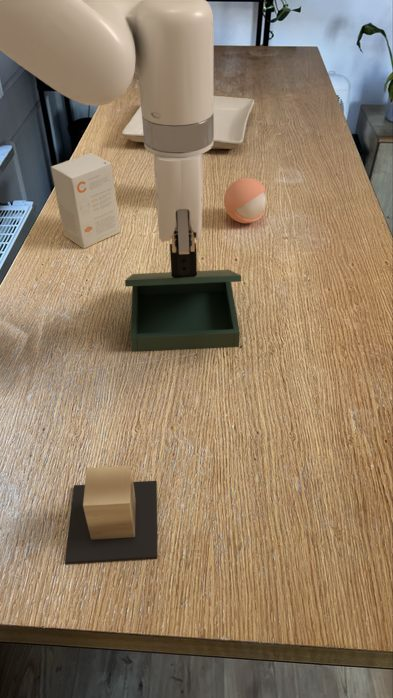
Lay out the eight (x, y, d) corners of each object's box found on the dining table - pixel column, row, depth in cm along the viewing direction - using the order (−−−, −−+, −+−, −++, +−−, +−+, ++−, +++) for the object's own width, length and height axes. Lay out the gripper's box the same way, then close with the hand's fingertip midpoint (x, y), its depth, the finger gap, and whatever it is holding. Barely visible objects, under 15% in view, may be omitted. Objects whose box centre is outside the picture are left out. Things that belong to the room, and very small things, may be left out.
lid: (241, 281, 74) (241, 275, 74) (125, 286, 74) (124, 280, 73) (229, 275, 88) (229, 269, 88) (132, 279, 88) (132, 273, 88)
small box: (100, 220, 108) (90, 151, 100) (120, 233, 105) (113, 162, 96) (62, 236, 104) (49, 165, 95) (83, 249, 101) (71, 178, 92)
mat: (74, 487, 64) (73, 485, 64) (156, 482, 65) (156, 480, 64) (65, 564, 57) (64, 562, 57) (157, 558, 58) (157, 556, 58)
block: (135, 537, 59) (129, 503, 55) (91, 539, 59) (82, 505, 55) (135, 500, 62) (130, 465, 58) (94, 502, 62) (86, 467, 58)
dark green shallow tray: (239, 350, 81) (239, 332, 78) (132, 356, 80) (130, 337, 78) (229, 292, 91) (229, 274, 89) (134, 296, 90) (132, 279, 88)
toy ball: (250, 236, 103) (252, 194, 98) (214, 223, 107) (215, 182, 102) (274, 217, 108) (277, 177, 103) (239, 206, 112) (241, 166, 106)
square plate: (121, 149, 132) (119, 132, 129) (150, 106, 152) (149, 91, 150) (241, 157, 128) (242, 139, 126) (254, 112, 148) (255, 96, 146)
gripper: (143, 107, 68) (154, 244, 80) (142, 161, 57) (154, 311, 69) (208, 104, 68) (209, 241, 81) (219, 158, 57) (218, 308, 69)
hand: (184, 273), depth 75 cm, fingers closed
